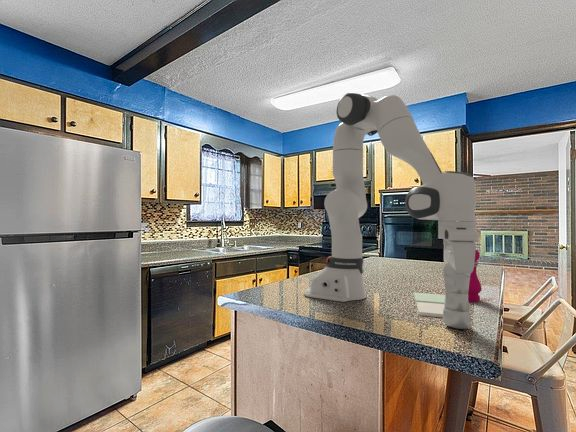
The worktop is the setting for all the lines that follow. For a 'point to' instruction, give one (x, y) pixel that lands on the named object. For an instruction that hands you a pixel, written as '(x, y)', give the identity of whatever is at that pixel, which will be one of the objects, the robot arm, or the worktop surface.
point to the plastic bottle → (455, 300)
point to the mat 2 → (430, 309)
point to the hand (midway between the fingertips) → (456, 285)
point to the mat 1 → (429, 298)
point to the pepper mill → (474, 283)
